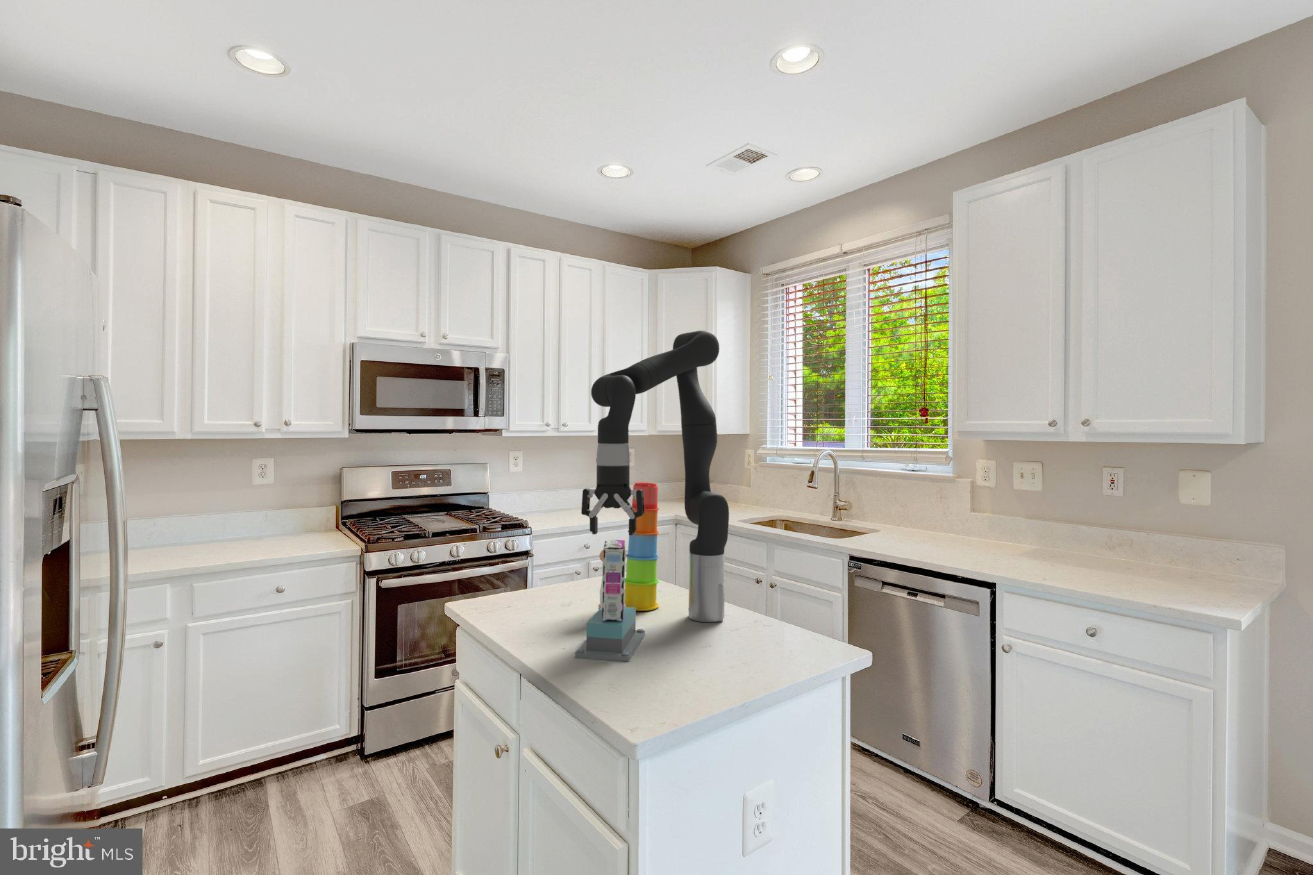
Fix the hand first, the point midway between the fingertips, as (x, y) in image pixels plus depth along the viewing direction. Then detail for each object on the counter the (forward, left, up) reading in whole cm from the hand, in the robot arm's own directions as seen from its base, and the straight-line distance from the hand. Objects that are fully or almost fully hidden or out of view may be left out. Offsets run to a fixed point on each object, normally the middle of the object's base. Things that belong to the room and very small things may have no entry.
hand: (612, 534), depth 143 cm
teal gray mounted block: (0, 0, -26) cm, 26 cm away
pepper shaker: (+5, -20, -26) cm, 33 cm away
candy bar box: (0, 0, -19) cm, 19 cm away
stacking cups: (0, -32, -26) cm, 41 cm away
